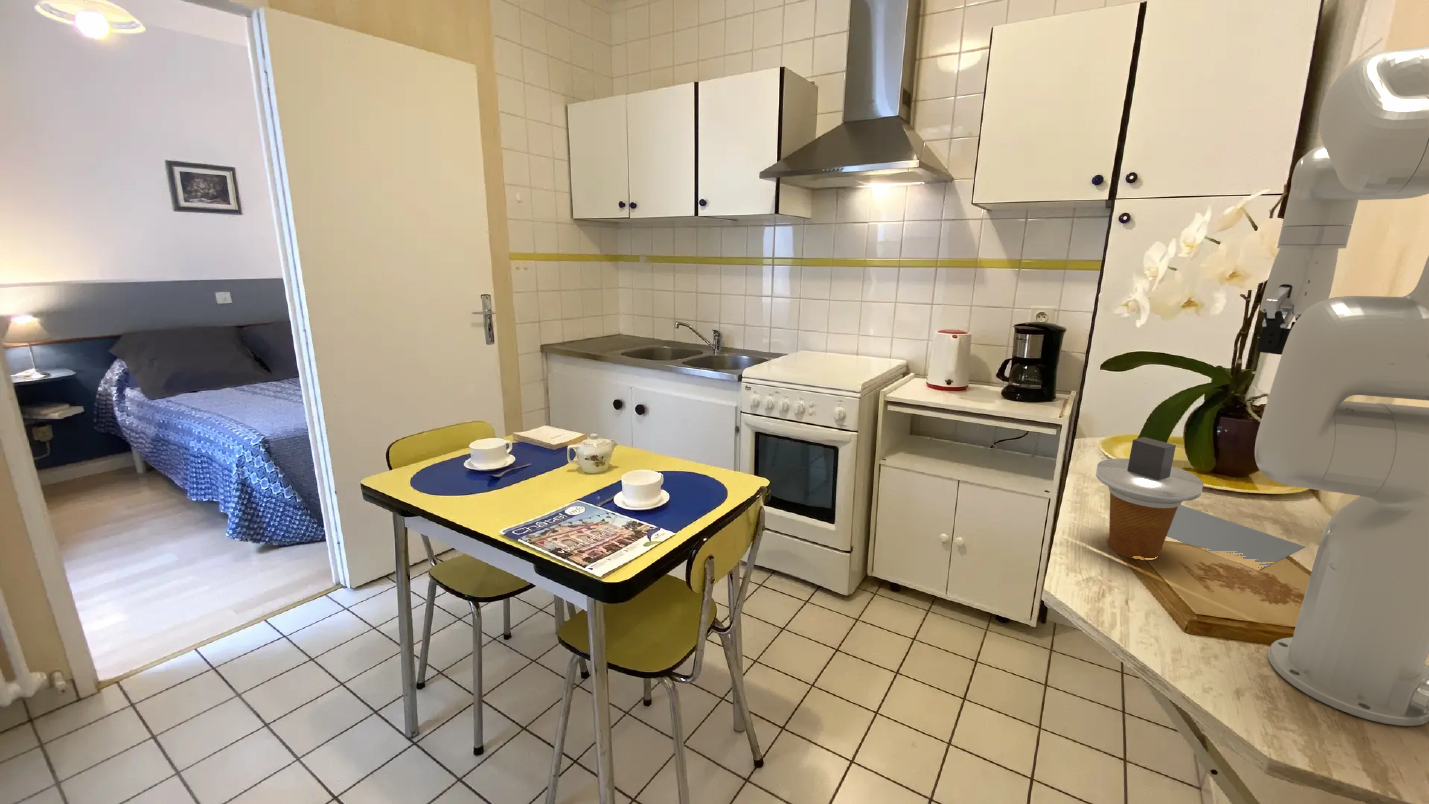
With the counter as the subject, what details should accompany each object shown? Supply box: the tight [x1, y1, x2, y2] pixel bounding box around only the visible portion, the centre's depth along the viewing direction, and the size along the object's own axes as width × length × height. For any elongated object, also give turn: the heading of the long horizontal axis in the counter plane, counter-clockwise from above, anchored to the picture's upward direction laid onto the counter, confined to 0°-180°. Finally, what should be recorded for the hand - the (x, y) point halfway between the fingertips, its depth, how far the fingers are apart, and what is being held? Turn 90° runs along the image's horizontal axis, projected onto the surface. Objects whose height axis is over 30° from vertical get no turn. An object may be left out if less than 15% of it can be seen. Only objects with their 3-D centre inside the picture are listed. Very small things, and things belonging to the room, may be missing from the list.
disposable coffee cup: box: [1107, 486, 1184, 559], centre depth 91 cm, size 10×10×12 cm
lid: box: [1095, 436, 1204, 502], centre depth 88 cm, size 13×13×6 cm
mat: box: [1166, 504, 1306, 568], centre depth 98 cm, size 20×15×1 cm
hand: (1285, 350), depth 93 cm, fingers open, 9 cm apart
